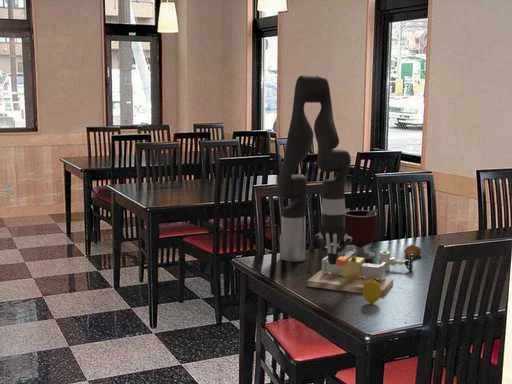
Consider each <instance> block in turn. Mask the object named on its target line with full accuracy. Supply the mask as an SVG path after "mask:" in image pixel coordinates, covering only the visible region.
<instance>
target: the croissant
mask: <svg viewBox="0 0 512 384" xmlns="http://www.w3.org/2000/svg"><path fill="white" fill-rule="evenodd" d="M403 253H404V255H405V258H406V260H407V259H408V258H410V254H413V260H415V259H416V258H419V256H421V254H422V250H421V247H419V246H417V245H415V244H411V245H408V246H406V247H405V249H404V252H403Z"/></svg>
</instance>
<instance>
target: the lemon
mask: <svg viewBox="0 0 512 384" xmlns="http://www.w3.org/2000/svg"><path fill="white" fill-rule="evenodd" d="M380 295H381V288H380V285H379V283H378V282H377V281H375V280H373V279H371V280H368V281H367V282H366V283H365V284H364V286H363V293H362V296H363V299H364V300H365V301H366V302H367V303H369V304H371V305H373V304H374V303H376V302H377V301H379V299H380V297H381V296H380Z"/></svg>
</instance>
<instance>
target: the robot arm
mask: <svg viewBox="0 0 512 384" xmlns="http://www.w3.org/2000/svg"><path fill="white" fill-rule="evenodd" d="M306 103H310V104H311V103H313V104H314V103H316V104H318V103H319V104H320V110H319V112H318V115H317V116H316V118H315V120H314V124H313V128H312V126H311V124H310V122H309V120H308V118H307V115H306V113H305V104H306ZM332 104H333V103H332V96H331V90H330V84H329V81H328V78H327V77H326V76H322V75H311V74H310V75H309V74H308V75H306V74H305V75H299V76H298V77H297V79H296V81H295V86H294V94H293V104H292V113H291V118H290V123H289V128H288V132H287V137H286V138H287V139H286V143H285V150H284V154H283V155H284V156H283V161H282V165H281V168H280V171H279V175H278V179H277V185H276V192H277V196H278V198H280V199H282V200H293V199H294V200H293V201H292V202H291V203H290V204H288V205H286V206H284V207H282V209H281V234H280V235H279V260H283V261H285V262H291V263H292V262H295V263H297V262H302V261H305V260H306V210H307V195H308V194H307V192H308V183H307V178H306V177H305V175H304V174H302V173H301V174H298V173H297V174H293V173H294V171H295V170H296V168H298V167H299V165H300V164H301V163H302V162H303V161H304V160H305V159H306V158H307V157H308V155H309V154H310V152H311V149H312V146H313V145H312V144H313V141H314V136H315V140H316V143H317V158H316V165H317V168H318V169H319V170H320V171H321V172H322V173H334V172H336V174H335V175H334V176H333V177H330V178H327V179H325V180H323V182H322V187H321V188H322V193H321V194H322V195H321V196H322V200H321V201H322V202H321V228H320V231H319V232H318V233H316V234H314V235H313V239H314V240H315V242H316V243H317V244H318V246H319V247H320V248H321V250H322V251H324V252H327V256H328V262H329V263H330V264H331V265H335V264H336V260H337V259H338V258H339V253H342V252H343V251H344V250H345V249H346V248H347V246H349V244H350V242H351V241H352V239H353V238H352V237H349V236H348V235H347V234H346V230H345V212H346V201H345V191H346V190H345V187H346V181H347V176H348V173H349V170H350V168H351V161H352V158H351V155H350V152H349V151H348V150H346V149H343V148H341V149H336V148H338V147H339V144H340V138H339V134H338V131H337V128H336V125H335V120H334V115H333V113H334V112H333V105H332ZM313 131H314V132H313ZM314 134H315V135H314ZM342 240H343V241H344V242H343V243H342V244H341V246H340V242H342Z"/></svg>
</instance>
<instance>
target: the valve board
mask: <svg viewBox="0 0 512 384" xmlns="http://www.w3.org/2000/svg"><path fill="white" fill-rule="evenodd" d="M367 281H368V280H365V276H363V277H362V278H361V279H360V280H352V279H344V278H342V275H341V276H339V277H337V276H331V272H327V273H326V274H325V275H323V274H322V269H321V270H319V271H318V272H316V273H314V275H313V276H311V277H309V279H307V287H311V288H319V289H325V290H326V289H328V290H333V291H341V292H350V293H358V294H363V286H364V284H365V283H366V282H367ZM375 281H377V282H378V283H379V285H380V288H381V295H380V297H384V296H385V295H386V294H387V293H388V292H389V291H390V289H391V288H392V287H393V285H394V278H388V277H385V279H384V280H383V281H379V278H376V279H375Z"/></svg>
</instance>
